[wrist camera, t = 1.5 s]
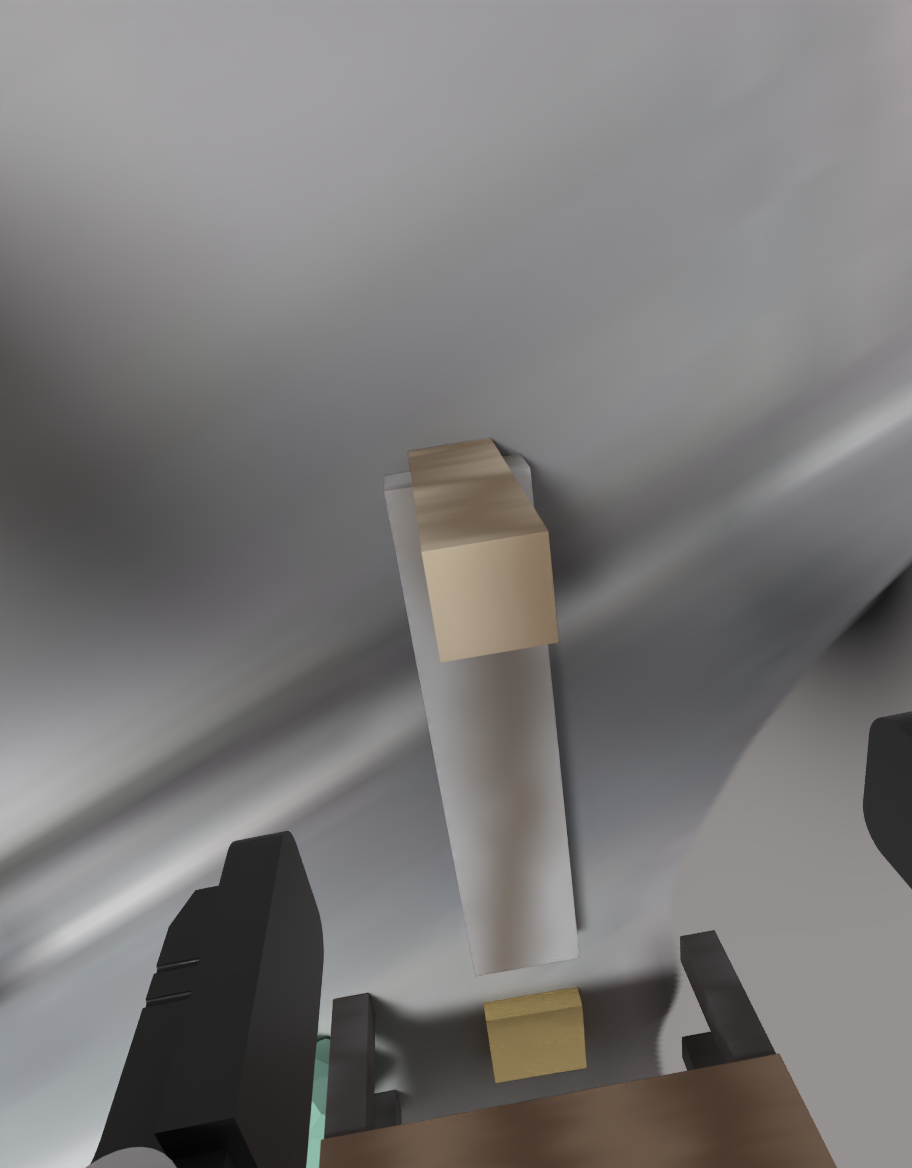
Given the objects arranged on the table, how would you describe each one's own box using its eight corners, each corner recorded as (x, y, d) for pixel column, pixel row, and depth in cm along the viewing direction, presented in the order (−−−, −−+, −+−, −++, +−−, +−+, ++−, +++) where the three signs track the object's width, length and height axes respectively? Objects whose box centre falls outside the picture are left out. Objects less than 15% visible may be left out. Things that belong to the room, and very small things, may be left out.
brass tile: (491, 1055, 40) (495, 1083, 39) (482, 994, 38) (485, 1021, 37) (580, 1041, 41) (586, 1067, 39) (575, 979, 39) (582, 1005, 37)
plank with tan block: (470, 940, 36) (500, 1168, 27) (380, 455, 26) (378, 558, 17) (569, 922, 36) (632, 1143, 27) (517, 433, 26) (590, 524, 17)
